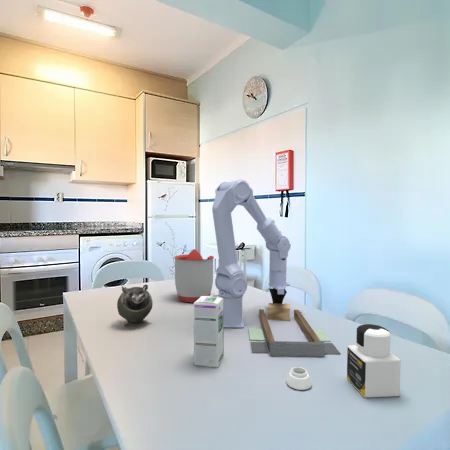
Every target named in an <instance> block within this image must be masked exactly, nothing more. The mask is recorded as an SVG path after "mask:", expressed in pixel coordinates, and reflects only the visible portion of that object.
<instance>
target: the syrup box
mask: <svg viewBox="0 0 450 450" xmlns="http://www.w3.org/2000/svg"><path fill="white" fill-rule="evenodd" d="M224 336H225V335H224V327H223V297H217V296H213V295H210V296H201V297H200V298H199V299H198V300H196V301H195V302H194V303H193V358H194V359H193V364H194V365H195V366H199V367H207V368H219V367H220V364H221V363H222V361H223V359H224V353H225V352H224V350H225V349H224V348H225V347H224V338H225V337H224Z"/></svg>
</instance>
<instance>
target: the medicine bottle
mask: <svg viewBox="0 0 450 450" xmlns="http://www.w3.org/2000/svg"><path fill="white" fill-rule="evenodd" d="M391 337H392V336H391V331H390V330H388V329H387V328H385V327H384V326H382V325H378V324H377V325H376V324H371V323H370V324H369V323H367V324H365V323H364V324H360V325H358V326H357V327H356V343H355V344H352V345H349V344H348V345H347V353H346V354H347V356H346V357H347V359H346V360H347V363H346V378H347V380H348V381H349V382H350V383H351V384H352V386H353V387H354V388H355V389H356V390H357V391H358V392H359V393H360V394H361V395H362V397H363V398H365V399H366V398H389V397H399V396H400V395H401V393H400V392H401V365H402V363H401V362H402V361H401V359H400V358H399V357H397V356H396V355H394V354H393V353H392V352H391V339H392V338H391Z"/></svg>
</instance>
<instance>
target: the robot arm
mask: <svg viewBox="0 0 450 450" xmlns="http://www.w3.org/2000/svg"><path fill="white" fill-rule="evenodd" d="M214 192H215V197H214V200H213V204H212V209H211V210H212V217H213V224H214V225H213V226H214V232H215V238H216V241H215V242H216V246H217V253H218V261H219V265H218V267H217V268H216V269H215V273H216V275H215V280H214V285H215V287H216V289H218V294H213V295H212V296H217V297H223V328H234V329H235V328H236V329H237V328H239V329H242V328H244V327H245V324H244V318H243V297H244V295H245V293H246V291H247V289H248V281H247V279H246V277H245V275H244V270H243V269H242V268H241V266H240V265H239V264H238V257H237V249H236V240H235V234H234V226H233V218H232V212H233V211H234V210H235V209H236V208H237V206H242V207H243V208H244V210H246V211H247V213H248V214H249V215H250V216H251V218H252V219H253V220H254V221H255V222H256V230H257V231H258V232H259V234H260V235H261V237H262V238H263V239H264V241H265V248H266V249H267V250H268V251H269V264H268V265H269V272H268V273H269V274H268V276H269V277H268V279H269V280H268V281H269V282H268V286H269V287H270V288H268V291H269V293H270V296H271V300H272V302H271V303H279V304H284V303H283V302H284V298H285V297H286V294H287V293H288V292H287V289H286V288H287V287H290V286H291V285H290V283H289V282H287V261H288V259H287V258H288V256H289V251H290V250H291V246H292V245H291V242H290V240H289V238H288V237H286V236H285V235H283V234H282V231H281V230H279V228H278V226H277V225H276V222H275V219H272V218H270V217H266V215H265V213H264V212H263V210H262V207H260V205H259V203H258V201H257V199H256V198H255V196H254V190H253V189H252V187H250V185H249V183H248V181H246V180H245V179H237V180H231V181H230V180H229V181H223V182H221V183H220V184H219V185H218V186H217V187H216V188H215V190H214Z"/></svg>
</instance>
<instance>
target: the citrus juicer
mask: <svg viewBox="0 0 450 450" xmlns="http://www.w3.org/2000/svg"><path fill="white" fill-rule="evenodd" d="M214 259H215V257H214V256H213V255H210V256H207V258H203V256H202V255H201V253H200V252H199V251H198V250H197V249H195V248H193V249H192V250H191V251H190V252H189V253H188V254H179V255H175V256H174V285H175V290H176V293H177V296H178V299H179V301H180V302H186V303H193V304H194V302H195V301H196V300H198V299H199V298H200V297H201V296H211V293H212V289H213V286H214V285H213V284H214Z"/></svg>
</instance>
